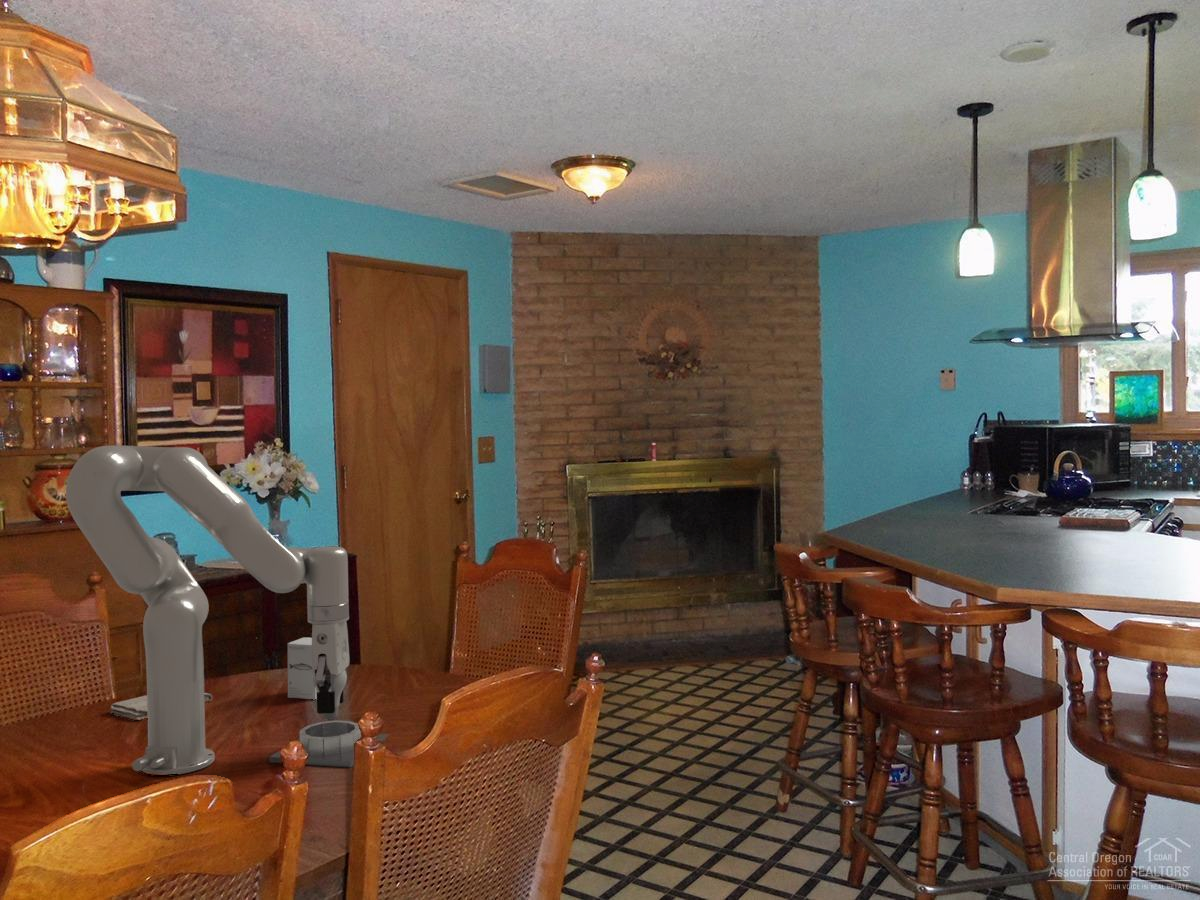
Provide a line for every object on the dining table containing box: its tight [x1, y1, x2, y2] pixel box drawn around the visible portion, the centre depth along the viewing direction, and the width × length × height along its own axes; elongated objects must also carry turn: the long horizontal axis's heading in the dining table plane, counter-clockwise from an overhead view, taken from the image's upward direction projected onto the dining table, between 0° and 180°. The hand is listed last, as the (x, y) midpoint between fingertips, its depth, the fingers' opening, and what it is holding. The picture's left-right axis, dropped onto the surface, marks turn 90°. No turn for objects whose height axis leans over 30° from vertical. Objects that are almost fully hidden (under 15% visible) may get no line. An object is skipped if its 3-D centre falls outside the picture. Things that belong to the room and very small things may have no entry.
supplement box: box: [287, 637, 317, 701], centre depth 221 cm, size 7×7×13 cm
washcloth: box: [110, 692, 213, 720], centre depth 212 cm, size 12×18×3 cm, turn 148°
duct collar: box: [268, 720, 389, 769], centre depth 182 cm, size 16×16×4 cm
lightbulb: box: [313, 669, 348, 721], centre depth 182 cm, size 6×6×11 cm
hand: (330, 707), depth 182 cm, fingers closed on lightbulb, 5 cm apart
